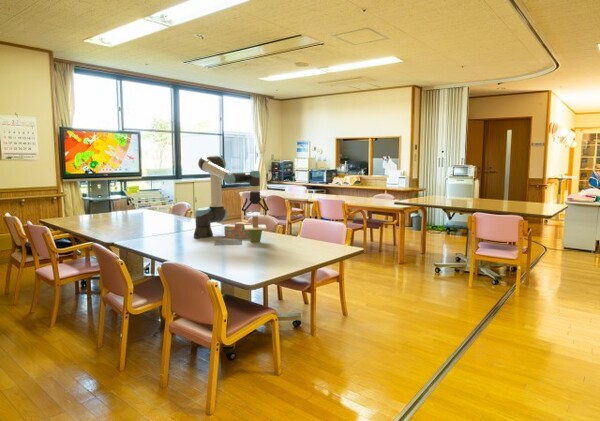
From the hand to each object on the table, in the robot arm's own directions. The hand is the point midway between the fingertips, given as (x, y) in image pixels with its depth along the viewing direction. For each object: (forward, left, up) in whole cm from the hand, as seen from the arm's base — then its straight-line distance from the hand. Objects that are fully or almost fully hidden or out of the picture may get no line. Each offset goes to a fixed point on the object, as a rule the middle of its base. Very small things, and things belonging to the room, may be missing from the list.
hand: (255, 219), depth 306 cm
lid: (0, 0, -6) cm, 6 cm away
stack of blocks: (-20, -13, -18) cm, 30 cm away
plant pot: (0, 0, -17) cm, 17 cm away
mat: (0, -20, -17) cm, 26 cm away
